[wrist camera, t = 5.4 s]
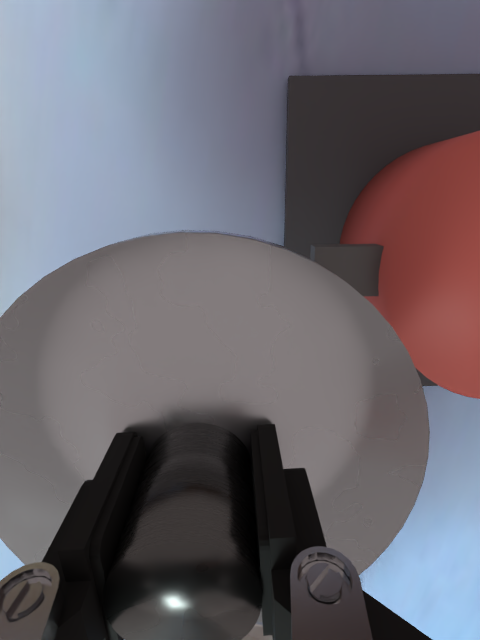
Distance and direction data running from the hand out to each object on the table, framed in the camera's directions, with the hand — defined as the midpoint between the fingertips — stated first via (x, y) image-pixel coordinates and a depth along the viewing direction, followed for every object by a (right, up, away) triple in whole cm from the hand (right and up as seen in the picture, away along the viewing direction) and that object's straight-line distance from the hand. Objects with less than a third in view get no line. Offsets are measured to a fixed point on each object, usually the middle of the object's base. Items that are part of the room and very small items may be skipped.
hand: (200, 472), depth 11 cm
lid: (0, 0, +1) cm, 1 cm away
